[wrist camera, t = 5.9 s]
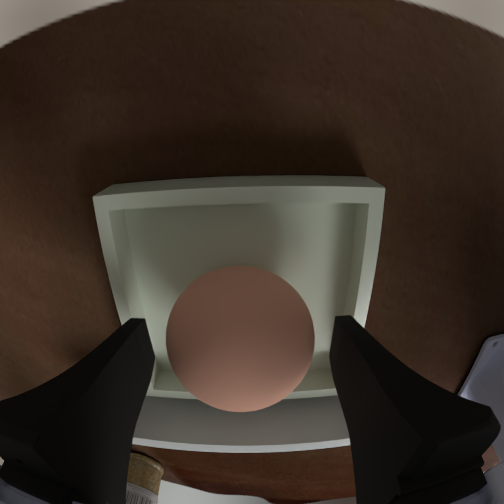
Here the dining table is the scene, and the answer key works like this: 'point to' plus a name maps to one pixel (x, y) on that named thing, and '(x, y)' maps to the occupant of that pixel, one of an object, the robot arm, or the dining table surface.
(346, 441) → the acrylic wall
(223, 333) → the ball
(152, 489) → the spice bottle
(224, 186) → the tray
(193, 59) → the dining table surface
